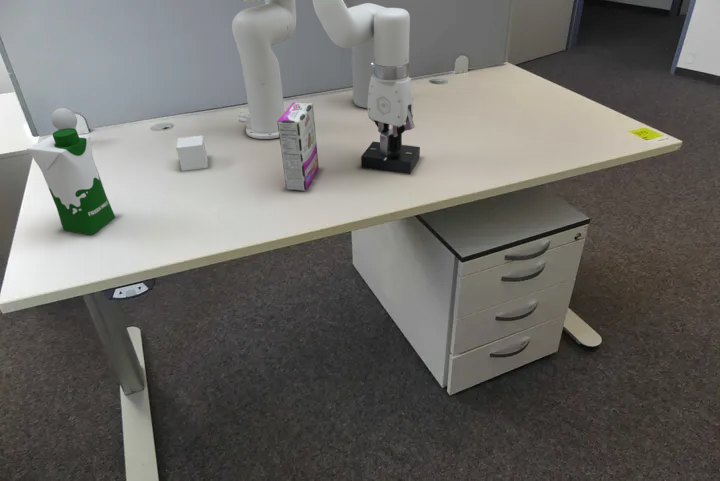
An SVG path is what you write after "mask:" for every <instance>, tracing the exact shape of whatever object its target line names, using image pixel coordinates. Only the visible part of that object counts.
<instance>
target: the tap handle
mask: <svg viewBox="0 0 720 481" xmlns="http://www.w3.org/2000/svg"><path fill="white" fill-rule="evenodd" d="M389 129H390V130H388V131H386V132H384V133H382V134H381V133H380V134H379V142H380V155H383V156H386V157H387V156H388V155H390V154H392V153H394V152H391V151H390V140H391V136H393V127H392V128H389ZM402 145H403V133H402V134H401V147H400V149H401V148H402Z"/></svg>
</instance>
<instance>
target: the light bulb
mask: <svg viewBox="0 0 720 481" xmlns="http://www.w3.org/2000/svg"><path fill="white" fill-rule="evenodd" d="M50 121H51V123H52V125H53V127H54V128H56V130H57V131H58V130H61V129H66V128H73V129H76V130H77V125H78V117H77V115H76V113H75V112H74V111H73V110H72V109H69V108H67V107H60V108H57V109H55V110H53V112H52V114H51V117H50Z"/></svg>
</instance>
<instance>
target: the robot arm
mask: <svg viewBox="0 0 720 481" xmlns="http://www.w3.org/2000/svg"><path fill="white" fill-rule="evenodd" d="M241 1H243V2H245V3H256V2H259V1H262V0H241ZM311 1H312V5H313V6H312V7H313V10H314V13H315V14H316V16H317V19H318V20H319V22H320V25H321V26H322V28H323V30H324V31H325V33H326V34H327V36H328V38H329V39H330V40H331V42H332V43H333V44H334V45H336V46H337V47H339V48H341V49H345V50H346V49H352V47H355V46H357V45H360V44H362V43H365V42H369V41H372V40H374V61H373V62H372V63H371V67H372V68H374V74H373V75H372V76H371V80H370V84H369V92H368V108H367V116H368V118H369V119H370V120H371V121H372V122H373V123H374V124H375V126H376V127H377V131H378V133H380V134H382V133H384V132H386V131H388V130H390V129H391V128H390V126H392V128H393V136H391V140H390V151H391V152H395V151H397V150H399V149H400V147H401V134H402V135H403V134H404V132H406V131H411V130H413V129H414V128H415V123H414V119H413V118H414V92H413V85H412V84H413V83H412V78H411V77H409V75H410V74H409V72H410V69H409V68H410V37H411V36H410V33H411V32H410V30H411V15H410V13H409V12H408V10H406V9H405V8H402V7H401V8H400V7H385V6H382V5H379V4H375V3H371V2H366V3H360V4H357V5H354V6H349V7H347V5H346V3H345V1H344V0H311ZM264 3H265V4H258V5H256V6H251V7H248V8H245V9H242V10H241V11H239V12H238V13H237V14H236V15H234V17H233V20H232V22H231V32H232V35H233V39H234V42H235V45H236V48H237V51H238V54H239V57H240V63H241V70H242V75H243V81H244V87H245V88H244V89H245V94H246V95H245V96H246V102H247V106H248V113H247V112H239V113H238V122H239V123H242V124H243V123H245V124H246V128H245V133H246V135H247V136H249V137H250V138H253V139H256V140H273V139H278V138H279V130H278V124H277V121H278V120H279V118H280V117H281V116H282V115H283V114H284V113H285V111H286V110H285V103H284V94H283V86H282V76H281V67H280V63H279V59H278V57H277V55H276V54H275V53H274V51H273V49H272V46H273V45H276V44H279V43H283V42H284V41H287V40H289V39H291V37H292V36H293V35H294V34H295V31H296V28H297V8H296V5H297V4H296V0H264Z"/></svg>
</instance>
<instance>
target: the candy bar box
mask: <svg viewBox="0 0 720 481" xmlns="http://www.w3.org/2000/svg"><path fill="white" fill-rule="evenodd" d="M284 111H285V113H284V114H283V115H282V116H281V117H280V118H279V120H278V121H277V124H278V130H279V137H278V138H279V139H278V140H279V145H280V152H281V159H282V166H283V174H284V182H285V189H286V190H287V191H299V192H306V191H307V190H308V189H309V187H310V185H311V184H312V182H313V180H314V178H315V177H316V175H317V173H318V171H319V170H320V167H319V154H318V145H317V144H318V143H317V134H316V133H317V132H316V124H315V122H316V121H315V113H314V112H315V111H314V103H313V102H304V101H303V102H302V101H300V102H299V101H295V102H292V103H291V104H290V105H289V106H288V108H286V110H284Z"/></svg>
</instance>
